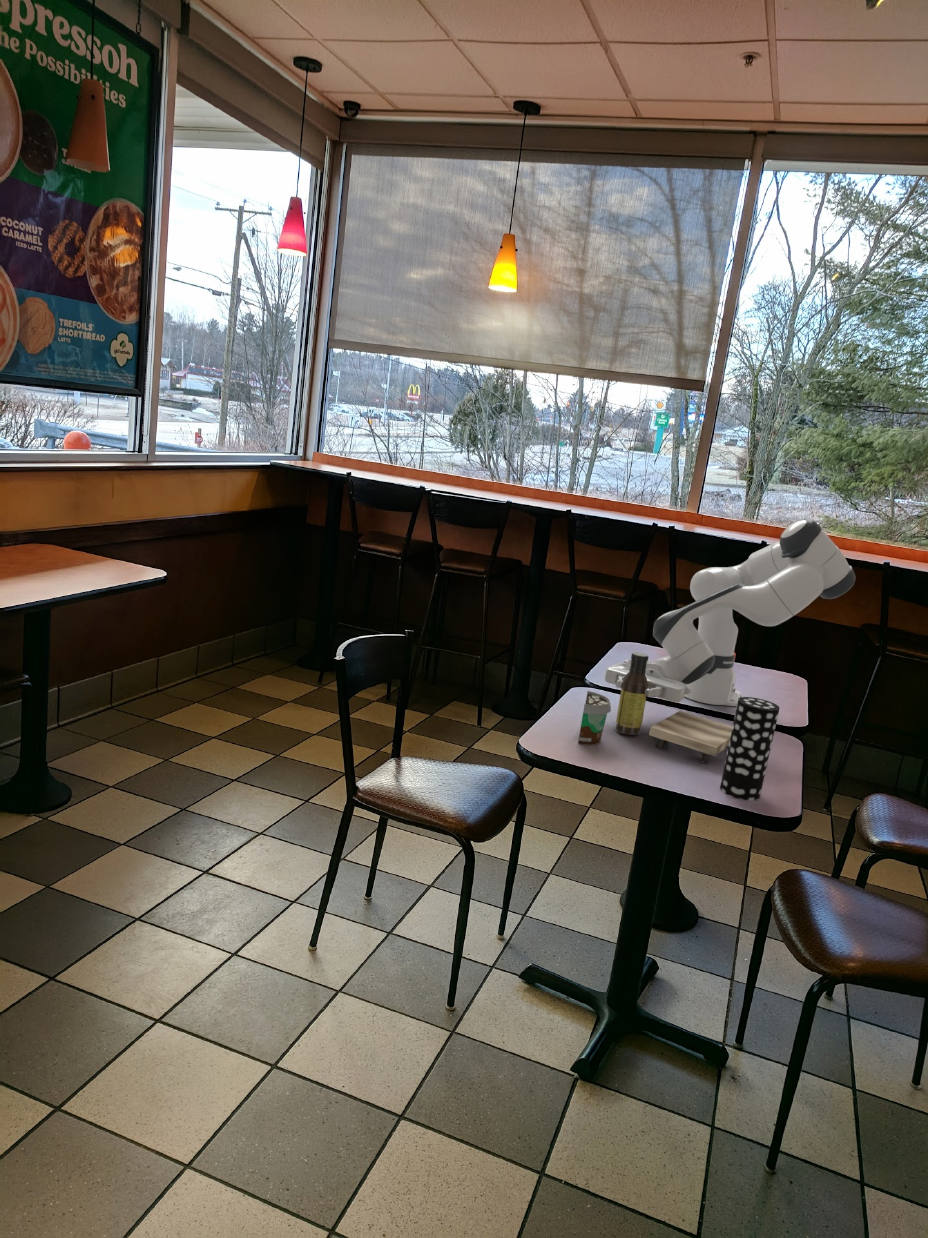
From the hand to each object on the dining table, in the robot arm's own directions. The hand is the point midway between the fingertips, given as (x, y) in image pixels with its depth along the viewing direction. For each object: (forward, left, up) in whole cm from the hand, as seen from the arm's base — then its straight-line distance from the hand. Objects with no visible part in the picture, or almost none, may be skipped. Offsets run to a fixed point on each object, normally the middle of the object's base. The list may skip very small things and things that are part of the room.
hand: (632, 689), depth 210 cm
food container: (+11, -4, -12) cm, 17 cm away
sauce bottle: (-1, 0, -11) cm, 11 cm away
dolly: (-6, +16, -12) cm, 20 cm away
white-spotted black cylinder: (+13, +32, -12) cm, 37 cm away
